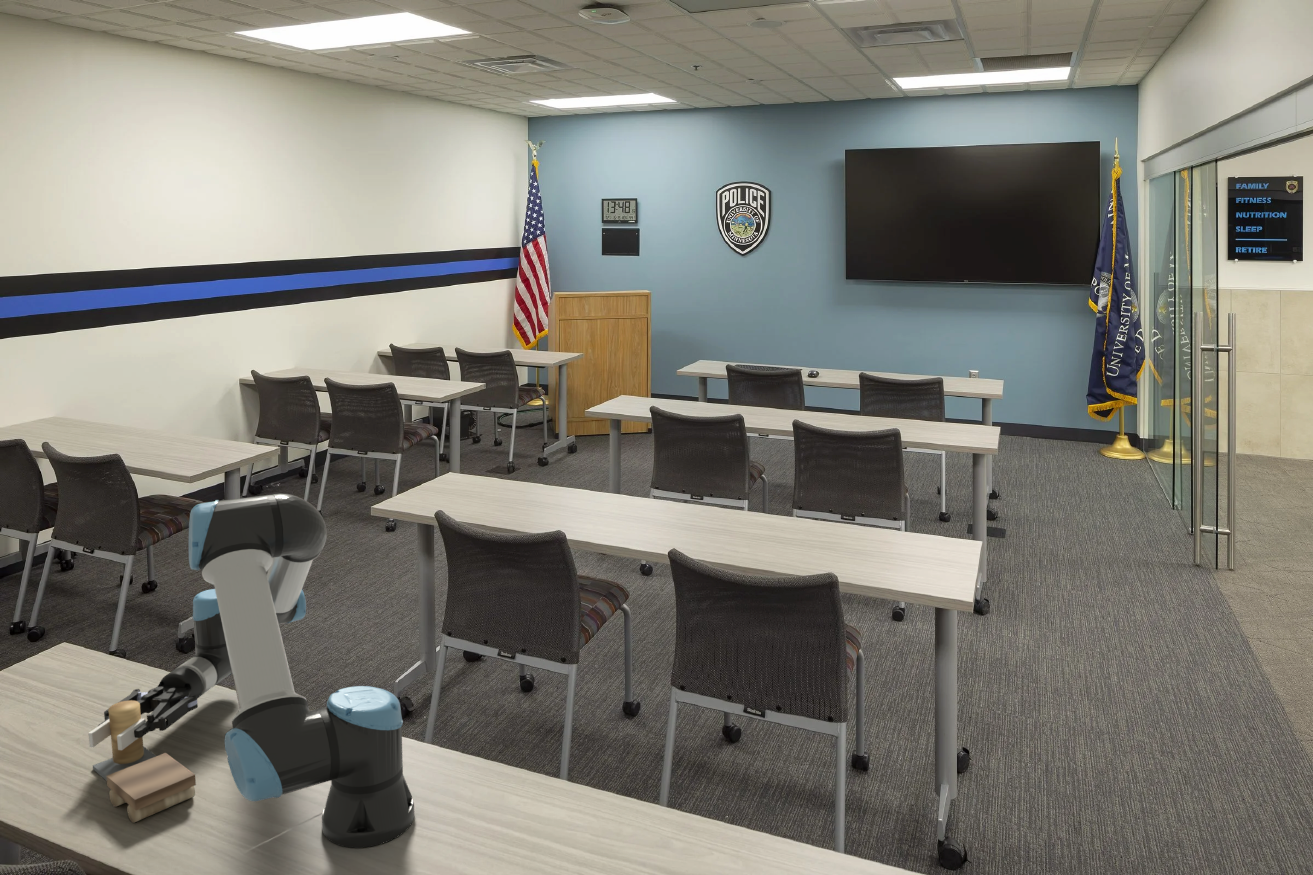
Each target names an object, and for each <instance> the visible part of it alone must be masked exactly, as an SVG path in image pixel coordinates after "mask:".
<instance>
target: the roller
mask: <svg viewBox="0 0 1313 875" xmlns="http://www.w3.org/2000/svg"><path fill="white" fill-rule="evenodd" d="M118 702H119V703H118ZM118 702H116V703H114V704H112V705H111V706H109V707H108V709H109V721H110V732H111V735H110V742H111V743H110V744H111V752H112V758H113V761H114V762H115V763H117V764H127V763H131V762H134V761H137V760H139V759H140V758H142V757H143V755H144V748H143V746H144V739H143V738H144V736H143V737H141V738H138V739H137V740H135V741H134V742H133V743H131V744H130V745H129V746H127V747H126V748H124V749H123V750H118V743H117V736H118V735H119V734H120V733H122V732H123V731H125V730H126V729H127V728H129V727H130V726H132V725H133V724H134V723H136V722H138V721H139V720H140V719H141V718H142V715H141V712H140V703H139V702H138V701H132V700H130V701H122V702H120V701H118Z"/></svg>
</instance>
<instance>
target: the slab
mask: <svg viewBox="0 0 1313 875" xmlns="http://www.w3.org/2000/svg"><path fill="white" fill-rule="evenodd" d="M106 777H107V781H106V786H107V787H108V788H109V789H110V790H109V794H108V795H109V800H110V803H111V804H112V806H113V807H115V808H117V807H118V806H121V805H124V804H127V808H126V810H127V811H126V812H127V816H128V818H129V820H130V821H131V823H133V824H134V823H136V822H139V821H141V820H144V819H146V818H148V817H151V816H153V815H154V814H157V813H159V812H161V811H162V812H163V811H164V810H167V809H169V808H171V807H173V806H175V805H178V804H180V803H183V802H184V801H187V800H189V799H192V798H193V797H195V795H196V790H195V789H196V788H195V786H196V785H197V782H196V774H195V773H194V772H192V771H191V770H189V768H187V767H186V766H184V765H183V764H182V763H180V762H179V761H178V760H176V758H173V757H172V756H171V755H169V754H168V753H167V752H163V753H161V754H159V755H156V757H153V758H151V759H148V760H146V761H143V762H141V763H138V764H135V765H133V766H130V767H128V768H125V769H123V770H120V771H118V772H115V773H112V774H110V775H107V776H106Z"/></svg>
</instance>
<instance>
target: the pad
mask: <svg viewBox="0 0 1313 875" xmlns="http://www.w3.org/2000/svg"><path fill="white" fill-rule="evenodd" d="M143 748H144V755H143V757H142V758H140V759H139V760H137V761H134V762H131V763H127V764H117V763H115V762H114V761H113V757H111V758H108V759H105V760H103V761H101V762H97V763H95V764H93V765H92V770H93V771H94V772H96V773H97V774H98V775H99V776H100V777H101V778H102V779H103V780H105V781H106V782H107V777H106V776H107V775H110V774H112V773H115V772H118V771H120V770H123V769H125V768H128V767H130V766H133V765H135V764H138V763H141V762H143V761H146V760H148V759H151V758H153V757H156V756H157V755H156V754H154V752H152V751H151V750H149V749H148V748H146V747H145V746H144V745H143Z"/></svg>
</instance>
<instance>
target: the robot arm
mask: <svg viewBox="0 0 1313 875" xmlns="http://www.w3.org/2000/svg"><path fill="white" fill-rule="evenodd" d="M189 513H190V514H189V520H188V521H189V522H188V523H189V524H188V564H189V568H190V569H191V570H193V571H194V570H195V571H200V570H201V571H200V572H201V576H202V579H203V580H204V581H205V582H207V583H209V584H211V585H212V586H213V587H214V588H212V589H206V590H203V591H200V592H199V593H197V594H196V595H195V596H194V597H193V600H192V621H193V622H192V623H193V632H194V634H193V635H194V641H195V642H194V645H195V646H194V647H195V649H194V650H195V655H193V656H192V657H191V658H189V659H188V660H186V661H185V662H183V663H182V664H180V665H179V666H177V667H176V668H175V669H173V670H172V671H170V672H169V673H167V674H166V675H164V677H162V679H160V681H159V683H158V685H157V686H156V687H154V688H151V689H149V690H148V691H145V692H144V691H143V692H141V689H140V688H135V689H133V690H132V692H130V694H128V695H127V696H125V697H124V698H122V699H121V700H120V701H118V702H117V703H119V702H122V701H130V700H132V701H138V702H139V703H140V712H141V716H142V715H143V714H146V718H142V717H141V719H140V720H139V721H138V722H136V723H134V724H133V725H132V726H130V727H129V728H127V729H126V730H125V731H123V732H122V733H120V734H119V735H118V736H117V743H118V750H123V749H124V748H126V747H127V746H129V745H130V744H131V743H133V742H134V741H135V740H137V739H138V738H141V737H143V738H144V736H146V734H148V733H151V732H154V731H155V730H157V729H158V730H159V732H164V731H165V730H168V729H169V728H170V727H171V726H172V725H174V724H175V723H176V722H178V721H179V720H180V719H181V718H183V717H184V716H185V715H186V714H188V713H189V712H192V711H193V710H196V709H198V706H199V705H198V704H199V703H198V700H199V698H200V697H202V696H203V695H204V694H205V693H207V692H208V691H210V690H211V689H212V688H213V687H215V686H216V685H217V684H220V683H221V682H222V681H223V680H225V679H226V678H228V677H229V676H231V675H232V678H233V683H234V688H235V693H236V697H237V701H238V707H239V709H238V711H237V712H236V713H235V715H234V717H233V718H232V720H231V724H232V726H231V727H232V728H231V729H230V730H228V731H227V732H226V733H225V735H224V748H225V749H224V750H225V752H226V755H227V762H228V766H229V769H230V773H231V776H232V779H233V781H234V784H235V786H236V787H237V788H236V789H238V791H239V793H240V794H241V795H242V796H243V798H244V799H246V800H247V801H249V802H259V801H263V800H268V799H272V798H274V799H277V798H280V797H282V796H283V795H286V794H290V793H292V792H296V791H299V790H303V789H307V788H310V787H312V786H313V787H314V786H317V785H319V784H320V785H321V784H324V783H327V782H329V781H330V788H329V791H328V795H327V797H326V798H327V799H326V801H325V806H324V807H323V810H322V813H321V814H322V815H321V826H322V827H321V828H322V833H323V835H324V837H325V838H326V839H327V840H328V841H329V842H332V843H333V844H335V845H337V846H341V847H345V848H368V847H374V845H375V846H378V844H379V845H382V844H384V843H383V842H385V843H387V842H386V841H388V842H390V841H392V840H394V839H396V838H398V837H399V836H401V835H402V834H403V832H404V831H405V830H406V829H407V828H408V827H409V826H411V825H412V824H413V822H414V819H415V802H414V799H413V798H414V797H413V794H412V793H411V790H410V788H409V786H408V783H407V781H406V778H405V776H404V773H403V772H404V770H403V769H404V768H403V767H404V765H403V763H404V762H403V729H402V728H403V723H404V721H403V717H402V710H401V703H400V700H399V698H398V697H397V696H396V695H395V694H394V693H392V692H390V691H388V690H387V689H383V688H379V687H375V686H369V685H367V686H366V685H358V686H357V685H354V686H349V687H348V686H347V687H344V688H343V687H342V688H340V689H337V690H336V691H335V692H332V693H331V694H330V695H329V697H328V698H327V701H326V706H324V707H320V708H318V709H316V708H315V709H313V710H312V709H311V710H310V707H309V703H308V700H307V698H306V697H305V696H303V695H300V694H298V693H297V692H295V686H294V684H293V680H292V675H291V671H290V670H291V669H290V667H289V663H288V658H287V653H286V649H285V645H284V642H283V636H282V633H281V628H280V625H287V624H291V623H292V622H296V621H301V620H303V619H304V618H305V617H306V614H307V610H306V609H307V601H306V595H305V593H304V590H303V587H304V584H305V582H306V579H307V577H308V574H309V573H310V572H309V571H310V569H311V566H312V564H313V561H314V560H315V559H317V558H318V557H319V556H320V554H321V553H322V551H323V550H324V547H325V545H326V542H327V534H328V533H327V532H328V530H327V526H326V522H325V520H324V518H323V516H322V514H321V512H320V511H319V510H318V509H317V508H316V507H315V506H314V504H313V505H312V504H311V503H310V502H309V501H307V500H306V499H303V498H302V497H299V496H297V495H293V494H289V493H275V494H274V493H273V494H269V495H268V494H267V495H257V496H250V497H241V498H234V499H225V500H219V499H215V501H208V502H202V503H198V504H196V505H195V506H193V508H191V511H190V512H189ZM103 715H104V721H102V722H101V723H99V724H98V725H97V726H96V727H95V728H93V729H92V730H91V731H89V732H87V733H88V745H89V748H94V747H96V746H97V745H99V744H100V743H101V742H103V741H104V740H106V739H107V738H109V737H111V732H110V721H109V708H107V709H106V710H105V711H104V712H103ZM412 821H413V822H412ZM411 823H412V824H411ZM410 824H411V825H410ZM409 828H410V827H409ZM409 828H408V829H409ZM408 829H407V830H408ZM407 830H406V831H407ZM406 831H405V832H406ZM405 832H404V833H405ZM401 833H402V834H401ZM400 834H401V835H400ZM398 835H399V836H398ZM397 836H398V837H397ZM395 837H396V838H395ZM393 838H394V839H393ZM391 839H392V840H391ZM389 840H390V841H389ZM381 843H382V844H381Z"/></svg>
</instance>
